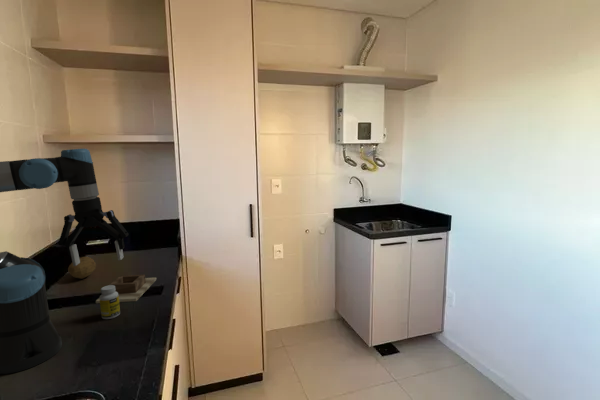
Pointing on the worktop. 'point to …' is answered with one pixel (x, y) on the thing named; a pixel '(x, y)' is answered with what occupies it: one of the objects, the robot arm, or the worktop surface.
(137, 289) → the collar board
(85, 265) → the potato
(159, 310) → the worktop surface
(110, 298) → the supplement bottle
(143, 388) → the worktop surface
